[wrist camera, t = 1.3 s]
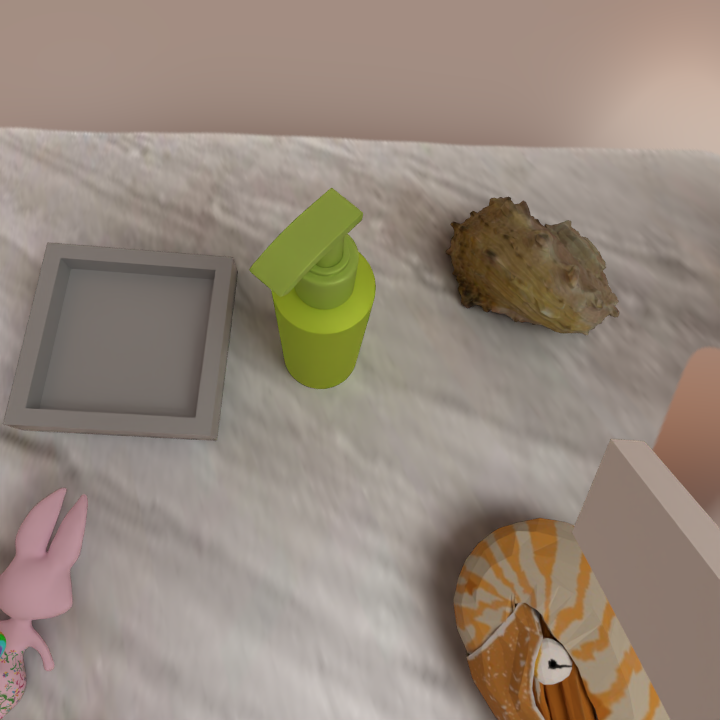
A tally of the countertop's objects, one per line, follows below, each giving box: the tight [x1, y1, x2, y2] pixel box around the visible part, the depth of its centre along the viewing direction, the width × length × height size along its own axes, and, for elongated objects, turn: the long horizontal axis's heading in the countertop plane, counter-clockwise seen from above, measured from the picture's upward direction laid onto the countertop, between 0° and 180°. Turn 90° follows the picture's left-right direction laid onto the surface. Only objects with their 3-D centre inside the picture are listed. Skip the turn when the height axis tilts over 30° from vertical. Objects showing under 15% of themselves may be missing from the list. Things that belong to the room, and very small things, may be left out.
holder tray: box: [3, 243, 238, 441], centre depth 39 cm, size 14×14×3 cm
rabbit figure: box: [0, 488, 88, 719], centre depth 32 cm, size 6×6×15 cm
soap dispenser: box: [249, 188, 376, 389], centre depth 32 cm, size 6×7×20 cm
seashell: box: [446, 197, 619, 335], centre depth 41 cm, size 11×14×10 cm
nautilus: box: [453, 518, 671, 720], centre depth 33 cm, size 8×22×15 cm
